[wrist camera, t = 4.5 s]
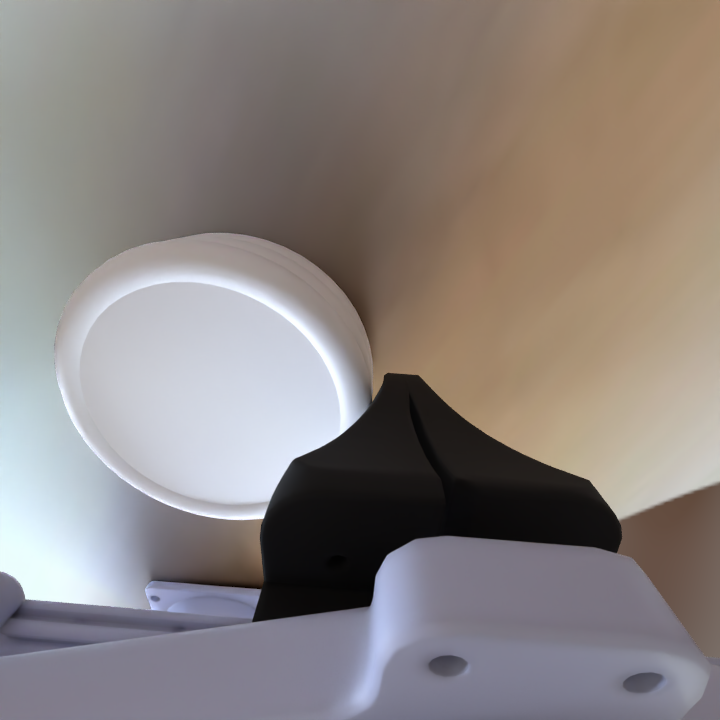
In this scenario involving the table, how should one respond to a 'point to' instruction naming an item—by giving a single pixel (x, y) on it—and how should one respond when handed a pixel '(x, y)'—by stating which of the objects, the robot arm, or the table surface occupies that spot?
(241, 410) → the white round dish
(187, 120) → the table surface
